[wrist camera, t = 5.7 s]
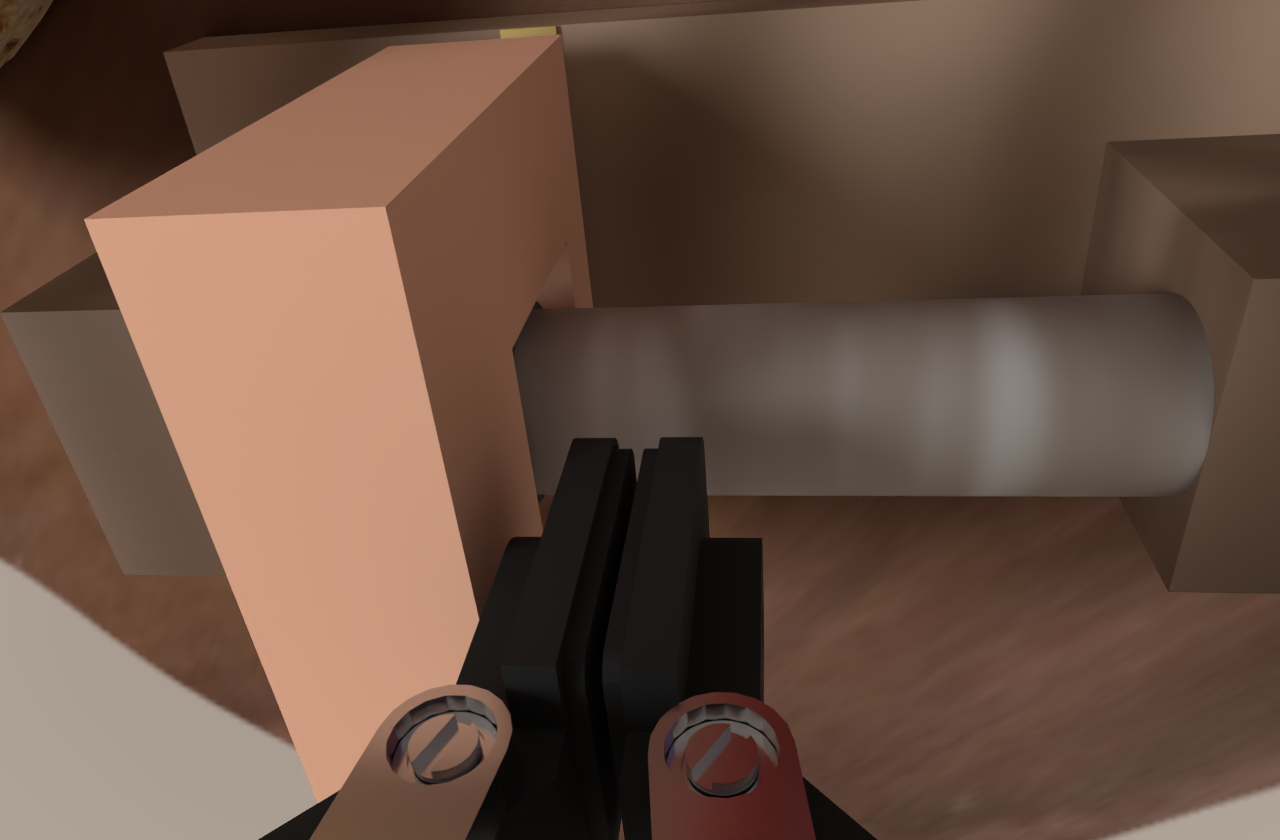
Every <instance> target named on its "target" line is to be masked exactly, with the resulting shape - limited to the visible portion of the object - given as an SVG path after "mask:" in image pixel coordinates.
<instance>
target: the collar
mask: <svg viewBox="0 0 1280 840" xmlns="http://www.w3.org/2000/svg"><path fill="white" fill-rule="evenodd" d="M84 221H85V223H86V226H87V228H88V231H89V233H90V236H91V238H92V241H93V243H94V246H95V248H96V251H97V253H98V256H99V258H100V261H101V263H102V266H103V268H104V271H105V273H106V276H107V278H108V281H109V283H110V286H111V288H112V291H113V293H114V296H115V298H116V301H117V303H118V306H119V308H120V311H121V313H122V316H123V318H124V321H125V323H126V326H127V328H128V331H129V333H130V336H131V338H132V341H133V343H134V346H135V348H136V351H137V353H138V356H139V358H140V360H141V363H142V365H143V368H144V370H145V373H146V375H147V378H148V380H149V383H150V385H151V388H152V390H153V393H154V395H155V398H156V400H157V403H158V405H159V408H160V410H161V413H162V415H163V418H164V420H165V423H166V425H167V428H168V430H169V433H170V435H171V438H172V440H173V443H174V445H175V448H176V450H177V453H178V455H179V458H180V460H181V463H182V465H183V468H184V470H185V473H186V475H187V478H188V480H189V483H190V485H191V488H192V490H193V493H194V495H195V498H196V500H197V503H198V505H199V508H200V510H201V513H202V515H203V518H204V520H205V523H206V525H207V528H208V530H209V533H210V535H211V538H212V540H213V543H214V545H215V548H216V550H217V553H218V555H219V558H220V560H221V563H222V565H223V568H224V570H225V573H226V575H227V578H228V580H229V583H230V585H231V588H232V590H233V593H234V595H235V598H236V600H237V603H238V605H239V608H240V610H241V613H242V615H243V618H244V620H245V623H246V625H247V628H248V630H249V633H250V635H251V638H252V640H253V643H254V645H255V648H256V650H257V653H258V655H259V658H260V660H261V663H262V665H263V668H264V670H265V673H266V675H267V678H268V680H269V683H270V685H271V688H272V690H273V693H274V695H275V698H276V700H277V703H278V705H279V708H280V710H281V713H282V715H283V718H284V720H285V723H286V725H287V728H288V730H289V733H290V735H291V738H292V740H293V743H294V745H295V748H296V750H297V753H298V755H299V757H300V760H301V762H302V765H303V768H304V770H305V772H306V775H307V777H308V780H309V782H310V785H311V787H312V790H313V792H314V795H315V797H316V800H317V802H318V803H319V802H321V801H323V800H324V799H326V798H327V797H329V796H331V795H332V794H334V793H336V792H337V791H339V790H340V789H341V788H342V786H343V785H344V783H345V781H346V780H347V778H348V776H349V775H350V773H351V772H352V770H353V768H354V767H355V765H356V763H357V762H358V760H359V759H360V757H361V755H362V754H363V752H364V751H365V749H366V747H367V746H368V744H369V742H370V741H371V739H372V738H373V736H374V734H375V733H376V731H377V729H378V728H379V726H380V725H381V724H382V723H383V722H384V720H385V719H386V718H387V717H388V716H389V714H390V713H391V712H392V711H393V710H394V709H396V708H397V707H398V706H400V705H401V704H402V703H404V702H405V701H406V700H408V699H409V698H411V697H413V696H415V695H417V694H420V693H422V692H424V691H426V690H428V689H432V688H437V687H441V686H446V685H456V682H457V680H458V677H459V674H460V672H461V669H462V666H463V663H464V661H465V658H466V655H467V652H468V650H469V647H470V644H471V641H472V639H473V636H474V633H475V631H476V628H477V625H478V622H479V620H480V617H481V614H482V611H483V609H484V606H485V603H486V600H487V598H488V595H489V592H490V590H491V587H492V584H493V581H494V579H495V576H496V573H497V570H498V568H499V565H500V562H501V559H502V557H503V554H504V551H505V549H506V546H507V544H508V542H509V540H510V539H512V538H513V537H541V536H542V533H543V530H544V527H545V523H546V520H547V517H548V514H549V511H550V508H551V505H552V502H553V499H554V495H545V497H544V498H543V499H542V501H541V502H539V503H538V499H537V493H536V487H535V481H534V475H533V469H532V463H531V458H530V452H529V446H528V440H527V434H526V428H525V422H524V416H523V410H522V405H521V399H520V393H519V387H518V381H517V375H516V369H515V363H514V357H513V352H512V348H513V346H514V344H515V342H516V340H517V338H518V336H519V334H520V332H521V330H522V328H523V326H524V324H525V322H526V320H527V318H528V316H529V314H530V312H531V310H532V308H533V306H534V304H535V302H536V301H537V302H538V303H539V304H540V305H541V306H542V308H543V309H567V308H593V302H592V293H591V285H590V276H589V268H588V259H587V251H586V242H585V234H584V225H583V216H582V208H581V199H580V191H579V182H578V174H577V165H576V157H575V148H574V139H573V131H572V122H571V114H570V105H569V97H568V88H567V80H566V71H565V63H564V54H563V45H562V37H561V35H550V36H535V37H520V38H505V39H490V40H475V41H460V42H445V43H430V44H416V45H401V46H389V47H387V48H385V49H383V50H381V51H380V52H378V53H376V54H374V55H373V56H371V57H369V58H367V59H366V60H364V61H362V62H360V63H359V64H357V65H355V66H353V67H352V68H350V69H348V70H346V71H344V72H343V73H341V74H339V75H337V76H336V77H334V78H332V79H330V80H329V81H327V82H325V83H323V84H322V85H320V86H318V87H316V88H314V89H313V90H311V91H309V92H307V93H306V94H304V95H302V96H300V97H299V98H297V99H295V100H293V101H292V102H290V103H288V104H286V105H285V106H283V107H281V108H279V109H277V110H276V111H274V112H272V113H270V114H269V115H267V116H265V117H263V118H262V119H260V120H258V121H256V122H255V123H253V124H251V125H249V126H248V127H246V128H244V129H242V130H240V131H239V132H237V133H235V134H233V135H232V136H230V137H228V138H226V139H225V140H223V141H221V142H219V143H218V144H216V145H214V146H212V147H211V148H209V149H207V150H205V151H203V152H202V153H200V154H198V155H196V156H195V157H193V158H191V159H189V160H188V161H186V162H184V163H182V164H181V165H179V166H177V167H175V168H174V169H172V170H170V171H168V172H166V173H165V174H163V175H161V176H159V177H158V178H156V179H154V180H152V181H151V182H149V183H147V184H145V185H144V186H142V187H140V188H138V189H136V190H135V191H133V192H131V193H129V194H128V195H126V196H124V197H122V198H121V199H119V200H117V201H115V202H114V203H112V204H110V205H108V206H107V207H105V208H103V209H101V210H99V211H98V212H96V213H94V214H92V215H91V216H89V217H87V218H85V219H84Z"/></svg>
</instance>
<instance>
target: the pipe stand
mask: <svg viewBox="0 0 1280 840" xmlns="http://www.w3.org/2000/svg"><path fill="white" fill-rule="evenodd" d="M550 35H561V37H562V45H563V54H564V63H565V71H566V80H567V88H568V97H569V105H570V114H571V122H572V131H573V139H574V148H575V157H576V165H577V174H578V182H579V191H580V199H581V208H582V216H583V225H584V234H585V242H586V251H587V259H588V268H589V276H590V285H591V293H592V302H593V308H567V309H543V308H542V306H541V305H540V304H539V303H538V302H537V301H536V302H535V304H534V306H533V308H532V310H531V312H530V314H529V316H528V318H527V320H526V322H525V324H524V326H523V328H522V330H521V332H520V334H519V336H518V338H517V340H516V342H515V344H514V346H513V348H512V352H513V357H514V363H515V369H516V375H517V381H518V387H519V393H520V399H521V405H522V410H523V416H524V422H525V428H526V434H527V440H528V446H529V452H530V458H531V463H532V469H533V475H534V481H535V487H536V493H537V499H538V503H539V502H541V501H542V499H543V498H544V497H545V495H555V492H556V489H557V486H558V483H559V480H560V477H561V474H562V471H563V467H564V464H565V461H566V458H567V455H568V452H569V449H570V446H571V443H572V441H573V439H574V438H616V439H617V441H618V444H619V449H632V450H633V453H634V459H635V468H636V478H637V480H638V475H639V470H640V465H641V460H642V455H643V451H644V449H648V448H658V446H659V441H660V438H661V437H703V440H704V449H705V466H706V484H707V495H758V496H1046V497H1119V498H1120V499H1121V501H1122V503H1123V505H1124V507H1125V509H1126V511H1127V513H1128V515H1129V517H1130V519H1131V521H1132V523H1133V524H1134V526H1135V528H1136V530H1137V532H1138V534H1139V536H1140V538H1141V540H1142V542H1143V544H1144V546H1145V548H1146V549H1147V551H1148V553H1149V555H1150V557H1151V559H1152V561H1153V563H1154V565H1155V567H1156V569H1157V571H1158V573H1159V574H1160V576H1161V578H1162V580H1163V582H1164V584H1165V586H1166V588H1167V590H1168V592H1212V593H1272V594H1280V0H727V1H713V2H699V3H685V4H671V5H656V6H642V7H628V8H614V9H600V10H585V11H571V12H557V13H543V14H529V15H514V16H500V17H486V18H472V19H458V20H443V21H429V22H415V23H401V24H387V25H372V26H358V27H344V28H330V29H316V30H301V31H287V32H273V33H259V34H245V35H230V36H216V37H203V38H201V39H198V40H195V41H192V42H190V43H187V44H184V45H181V46H179V47H176V48H173V49H171V50H168V51H165V52H163V54H164V57H165V60H166V63H167V66H168V69H169V73H170V76H171V79H172V82H173V85H174V88H175V91H176V94H177V97H178V100H179V103H180V106H181V109H182V113H183V116H184V119H185V122H186V125H187V128H188V131H189V134H190V137H191V140H192V143H193V146H194V150H195V153H196V155H198V154H200V153H202V152H203V151H205V150H207V149H209V148H211V147H212V146H214V145H216V144H218V143H219V142H221V141H223V140H225V139H226V138H228V137H230V136H232V135H233V134H235V133H237V132H239V131H240V130H242V129H244V128H246V127H248V126H249V125H251V124H253V123H255V122H256V121H258V120H260V119H262V118H263V117H265V116H267V115H269V114H270V113H272V112H274V111H276V110H277V109H279V108H281V107H283V106H285V105H286V104H288V103H290V102H292V101H293V100H295V99H297V98H299V97H300V96H302V95H304V94H306V93H307V92H309V91H311V90H313V89H314V88H316V87H318V86H320V85H322V84H323V83H325V82H327V81H329V80H330V79H332V78H334V77H336V76H337V75H339V74H341V73H343V72H344V71H346V70H348V69H350V68H352V67H353V66H355V65H357V64H359V63H360V62H362V61H364V60H366V59H367V58H369V57H371V56H373V55H374V54H376V53H378V52H380V51H381V50H383V49H385V48H387V47H389V46H401V45H416V44H430V43H445V42H460V41H475V40H490V39H505V38H520V37H535V36H550ZM0 314H1V316H2V318H3V320H4V322H5V324H6V327H7V329H8V331H9V333H10V335H11V337H12V339H13V341H14V343H15V346H16V348H17V350H18V352H19V354H20V356H21V358H22V360H23V362H24V365H25V367H26V369H27V371H28V373H29V375H30V377H31V379H32V381H33V384H34V386H35V388H36V390H37V392H38V394H39V396H40V398H41V400H42V403H43V405H44V407H45V409H46V411H47V413H48V415H49V417H50V419H51V422H52V424H53V426H54V428H55V430H56V432H57V434H58V436H59V438H60V441H61V443H62V445H63V447H64V449H65V451H66V453H67V455H68V458H69V460H70V462H71V464H72V466H73V468H74V470H75V472H76V474H77V477H78V479H79V481H80V483H81V485H82V487H83V489H84V491H85V493H86V496H87V498H88V500H89V502H90V504H91V506H92V508H93V510H94V512H95V515H96V517H97V519H98V521H99V523H100V525H101V527H102V529H103V531H104V534H105V536H106V538H107V540H108V542H109V544H110V546H111V548H112V550H113V553H114V555H115V557H116V559H117V561H118V563H119V565H120V567H121V569H122V572H123V574H138V575H197V576H227V575H226V573H225V570H224V568H223V565H222V563H221V560H220V558H219V555H218V553H217V550H216V548H215V545H214V543H213V540H212V538H211V535H210V533H209V530H208V528H207V525H206V523H205V520H204V518H203V515H202V513H201V510H200V508H199V505H198V503H197V500H196V498H195V495H194V493H193V490H192V488H191V485H190V483H189V480H188V478H187V475H186V473H185V470H184V468H183V465H182V463H181V460H180V458H179V455H178V453H177V450H176V448H175V445H174V443H173V440H172V438H171V435H170V433H169V430H168V428H167V425H166V423H165V420H164V418H163V415H162V413H161V410H160V408H159V405H158V403H157V400H156V398H155V395H154V393H153V390H152V388H151V385H150V383H149V380H148V378H147V375H146V373H145V370H144V368H143V365H142V363H141V360H140V358H139V356H138V353H137V351H136V348H135V346H134V343H133V341H132V338H131V336H130V333H129V331H128V328H127V326H126V323H125V321H124V318H123V316H122V313H121V311H120V308H119V306H118V303H117V301H116V298H115V296H114V293H113V291H112V288H111V286H110V283H109V281H108V278H107V276H106V273H105V271H104V268H103V266H102V263H101V261H100V258H99V256H98V253H97V252H96V253H94V254H93V255H91V256H90V257H88V258H87V259H85V260H83V261H82V262H80V263H79V264H77V265H75V266H74V267H72V268H71V269H69V270H67V271H66V272H64V273H63V274H61V275H59V276H58V277H56V278H55V279H53V280H51V281H50V282H48V283H47V284H45V285H43V286H42V287H40V288H39V289H37V290H35V291H34V292H32V293H31V294H29V295H27V296H26V297H24V298H23V299H21V300H20V301H18V302H16V303H15V304H13V305H12V306H10V307H8V308H7V309H5V310H4V311H2V312H0Z"/></svg>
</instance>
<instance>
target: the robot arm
mask: <svg viewBox="0 0 1280 840" xmlns="http://www.w3.org/2000/svg"><path fill="white" fill-rule="evenodd" d="M621 818H622V823H623V830H624V837H625V840H877V839H876V838H875V837H873V836H872V835H871V834H870V833H869V832H867V831H866V830H865V829H864V828H863V827H862V826H860V825H859V824H858V823H857V822H856V821H854V820H853V819H852V818H851V817H850V816H849V815H847V814H846V813H845V812H844V811H843V810H841V809H840V808H839V807H838V806H837V805H836V804H834V803H833V802H832V801H831V800H830V799H828V798H827V797H826V796H825V795H824V794H822V793H821V792H820V791H819V790H818V789H817V788H815V787H814V786H813V785H812V784H811V783H809V782H808V781H807V780H806V779H805V778H804V777H802V773H801V768H800V763H799V759H798V754H797V749H796V745H795V741H794V739H793V736H792V734H791V732H790V729H789V727H788V724H787V723H786V722H785V721H784V720H783V719H782V718H781V717H780V715H779V714H778V713H777V712H776V711H775V710H774V709H772V708H771V707H769V706H767V705H766V704H764V595H763V547H762V538H710V536H709V519H708V501H707V484H706V466H705V449H704V440H703V437H661V438H660V441H659V446H658V448H648V449H644V451H643V455H642V460H641V465H640V470H639V475H638V480H637V478H636V468H635V459H634V453H633V450H632V449H619V444H618V441H617V439H616V438H574V439H573V441H572V443H571V446H570V449H569V452H568V455H567V458H566V461H565V464H564V467H563V471H562V474H561V477H560V480H559V483H558V486H557V489H556V492H555V495H554V499H553V502H552V505H551V508H550V511H549V514H548V517H547V520H546V523H545V527H544V530H543V533H542V536H541V537H513V538H512V539H510V540H509V542H508V544H507V546H506V549H505V551H504V554H503V557H502V559H501V562H500V565H499V568H498V570H497V573H496V576H495V579H494V581H493V584H492V587H491V590H490V592H489V595H488V598H487V600H486V603H485V606H484V609H483V611H482V614H481V617H480V620H479V622H478V625H477V628H476V631H475V633H474V636H473V639H472V641H471V644H470V647H469V650H468V652H467V655H466V658H465V661H464V663H463V666H462V669H461V672H460V674H459V677H458V680H457V682H456V685H446V686H441V687H437V688H432V689H428V690H426V691H424V692H422V693H420V694H417V695H415V696H413V697H411V698H409V699H408V700H406V701H405V702H404V703H402V704H401V705H400V706H398V707H397V708H396V709H394V710H393V711H392V712H391V713H390V714H389V716H388V717H387V718H386V719H385V720H384V722H383V723H382V724H381V725H380V726H379V728H378V729H377V731H376V733H375V734H374V736H373V738H372V739H371V741H370V742H369V744H368V746H367V747H366V749H365V751H364V752H363V754H362V755H361V757H360V759H359V760H358V762H357V763H356V765H355V767H354V768H353V770H352V772H351V773H350V775H349V776H348V778H347V780H346V781H345V783H344V785H343V786H342V788H341V789H340V790H339V791H337V792H336V793H334V794H332V795H331V796H329V797H327V798H326V799H324V800H323V801H321V802H319V803H318V804H316V805H315V806H313V807H311V808H309V809H308V810H306V811H305V812H303V813H301V814H300V815H298V816H296V817H295V818H293V819H292V820H290V821H288V822H287V823H285V824H283V825H282V826H280V827H278V828H277V829H275V830H274V831H272V832H270V833H269V834H267V835H265V836H264V837H262V838H261V839H259V840H618V838H619V831H620V824H621Z"/></svg>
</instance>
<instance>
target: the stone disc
mask: <svg viewBox="0 0 1280 840" xmlns="http://www.w3.org/2000/svg"><path fill="white" fill-rule="evenodd" d="M52 2H53V0H0V68H1V67H2V66H3V64H4V63H5V62H7V61H8V60H10V59H11V58H13V57H14V56H15V54H16V53H17V51H18V50H19V49H20V47H21V46H22V45H23V44H24V42H25V41H26V40H27V38H28V37H29V36H30V34H31V33H32V31H33V30H34V29H35V27H36V26H37V25H38V23H39V22H40V21H41V19H42V18H43V16H44V15H45V13H46V11H47V10H48V8H49V7H50V5H51V3H52Z"/></svg>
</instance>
